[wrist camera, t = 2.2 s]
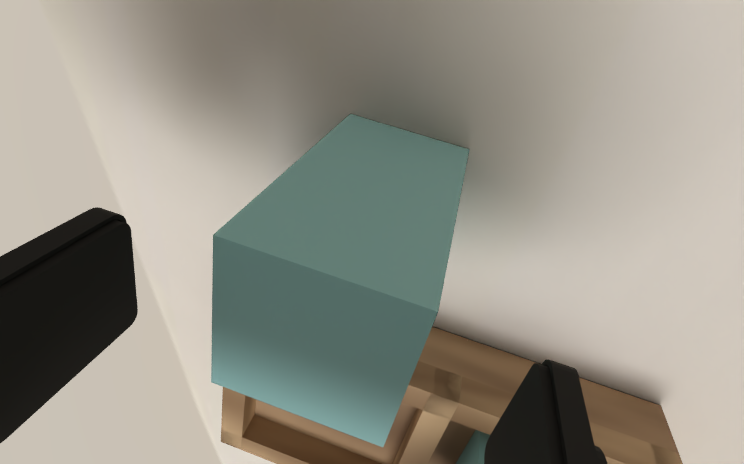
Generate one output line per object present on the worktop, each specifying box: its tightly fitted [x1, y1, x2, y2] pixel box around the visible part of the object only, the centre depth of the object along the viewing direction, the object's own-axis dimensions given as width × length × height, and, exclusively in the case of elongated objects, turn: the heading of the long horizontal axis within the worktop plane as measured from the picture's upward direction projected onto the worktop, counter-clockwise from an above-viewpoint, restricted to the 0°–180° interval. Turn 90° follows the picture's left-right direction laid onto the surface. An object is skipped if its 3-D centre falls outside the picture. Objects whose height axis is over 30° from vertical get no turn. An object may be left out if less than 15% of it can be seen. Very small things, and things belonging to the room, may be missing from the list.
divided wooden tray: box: [221, 327, 683, 464], centre depth 18 cm, size 8×16×3 cm, turn 78°
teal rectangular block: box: [211, 114, 469, 447], centre depth 12 cm, size 4×5×8 cm
